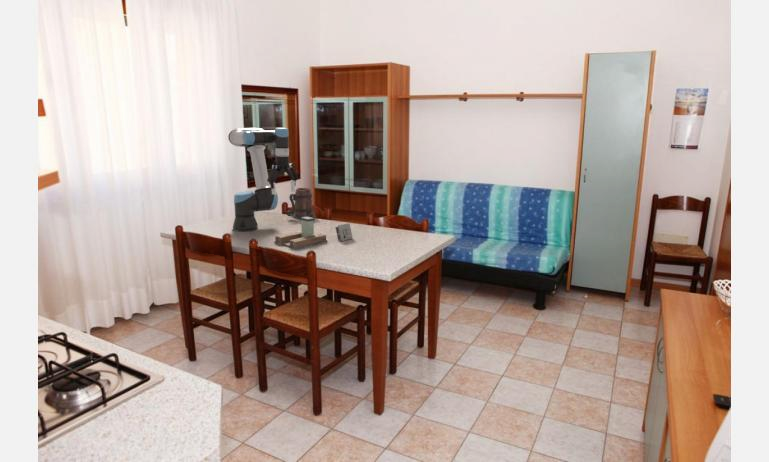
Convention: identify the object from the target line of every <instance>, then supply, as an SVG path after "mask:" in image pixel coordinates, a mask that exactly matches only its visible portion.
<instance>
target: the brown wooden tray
mask: <svg viewBox="0 0 769 462" xmlns="http://www.w3.org/2000/svg"><path fill="white" fill-rule="evenodd" d="M274 237H275V238H274V239H275V240H274V243H275V244H278V245H281V246H285V247H288V248H291V249H293V250H299V249H300V250H301V249H304V248H309V247H312V246H313V247H314V246H317V245H321V244H325V243H328V240H327V235H326V234H325V233H316V234H314V235H311V236H307V237H302V230H297V231H293V232H288V233H284V234H280V235H275V236H274Z"/></svg>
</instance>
